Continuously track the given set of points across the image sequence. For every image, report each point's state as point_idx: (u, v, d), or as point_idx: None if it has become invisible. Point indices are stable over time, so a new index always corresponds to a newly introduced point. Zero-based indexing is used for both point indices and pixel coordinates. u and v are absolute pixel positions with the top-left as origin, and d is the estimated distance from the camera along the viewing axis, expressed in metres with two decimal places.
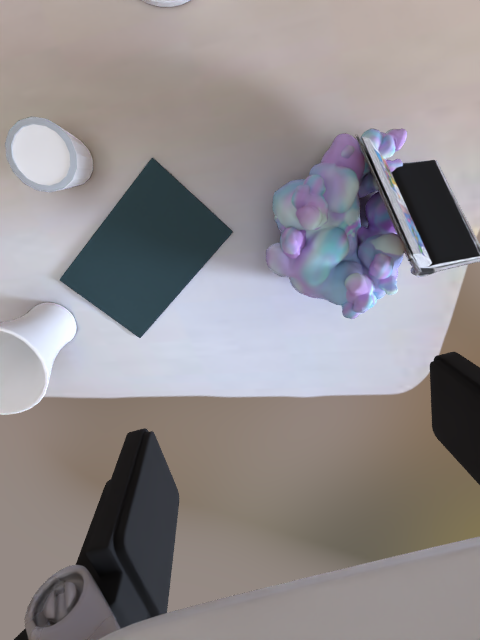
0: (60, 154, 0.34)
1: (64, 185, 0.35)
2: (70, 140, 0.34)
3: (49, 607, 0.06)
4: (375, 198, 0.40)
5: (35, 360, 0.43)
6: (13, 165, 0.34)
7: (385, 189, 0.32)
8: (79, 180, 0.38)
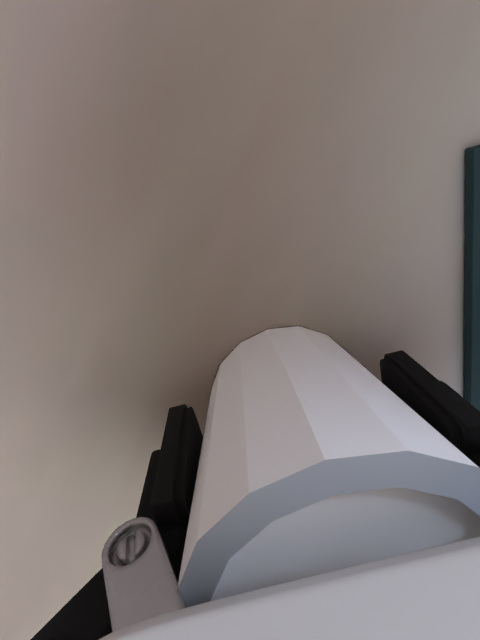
0: (417, 529, 0.06)
1: None
2: (412, 454, 0.05)
3: (121, 551, 0.07)
4: None
5: None
6: None
7: None
8: None
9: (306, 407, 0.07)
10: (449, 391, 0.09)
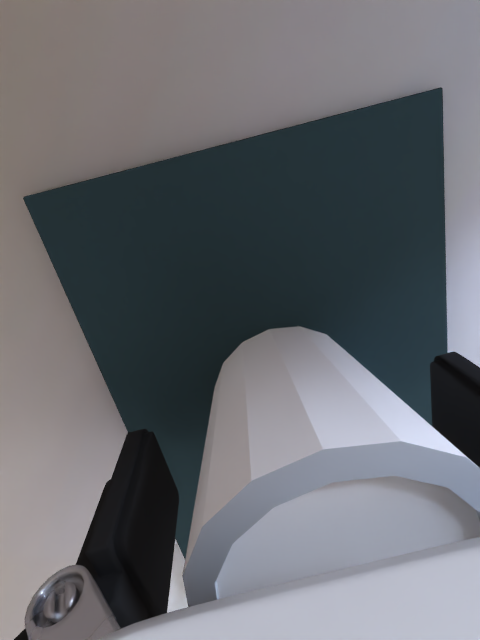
0: (410, 517, 0.06)
1: None
2: (404, 445, 0.06)
3: (49, 607, 0.06)
4: None
5: None
6: None
7: None
8: None
9: (305, 402, 0.07)
10: None
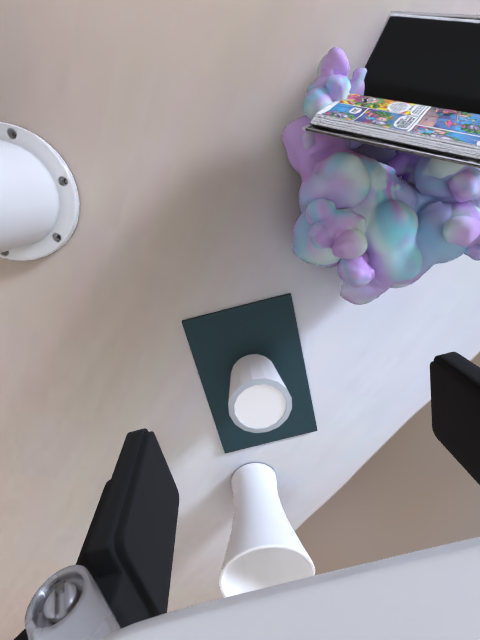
0: (269, 393, 0.35)
1: (290, 406, 0.36)
2: (266, 379, 0.35)
3: (49, 607, 0.06)
4: None
5: None
6: (252, 429, 0.37)
7: (393, 140, 0.22)
8: None
9: (251, 373, 0.36)
10: None
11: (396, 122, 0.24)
